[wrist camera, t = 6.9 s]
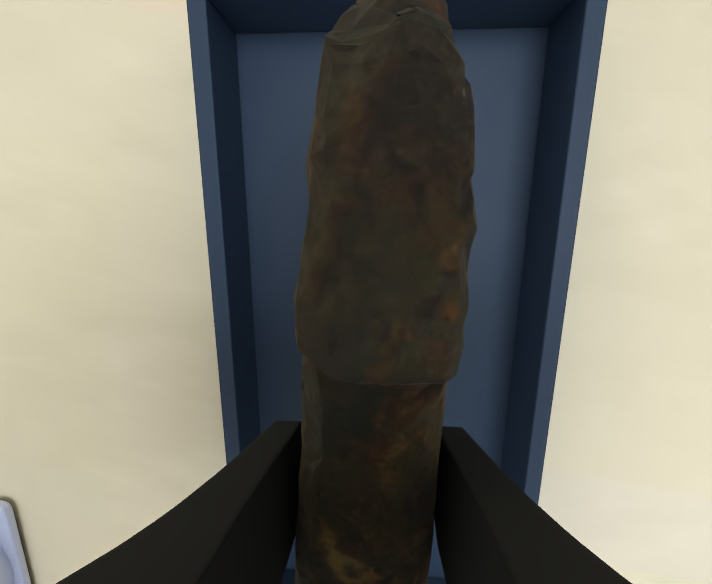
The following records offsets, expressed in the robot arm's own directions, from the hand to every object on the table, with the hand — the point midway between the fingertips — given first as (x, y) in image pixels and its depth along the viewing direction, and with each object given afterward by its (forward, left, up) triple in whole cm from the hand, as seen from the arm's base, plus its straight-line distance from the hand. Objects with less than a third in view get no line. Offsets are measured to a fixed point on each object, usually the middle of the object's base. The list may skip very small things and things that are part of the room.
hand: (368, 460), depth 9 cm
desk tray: (0, 0, -8) cm, 8 cm away
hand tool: (-1, 0, -2) cm, 2 cm away
